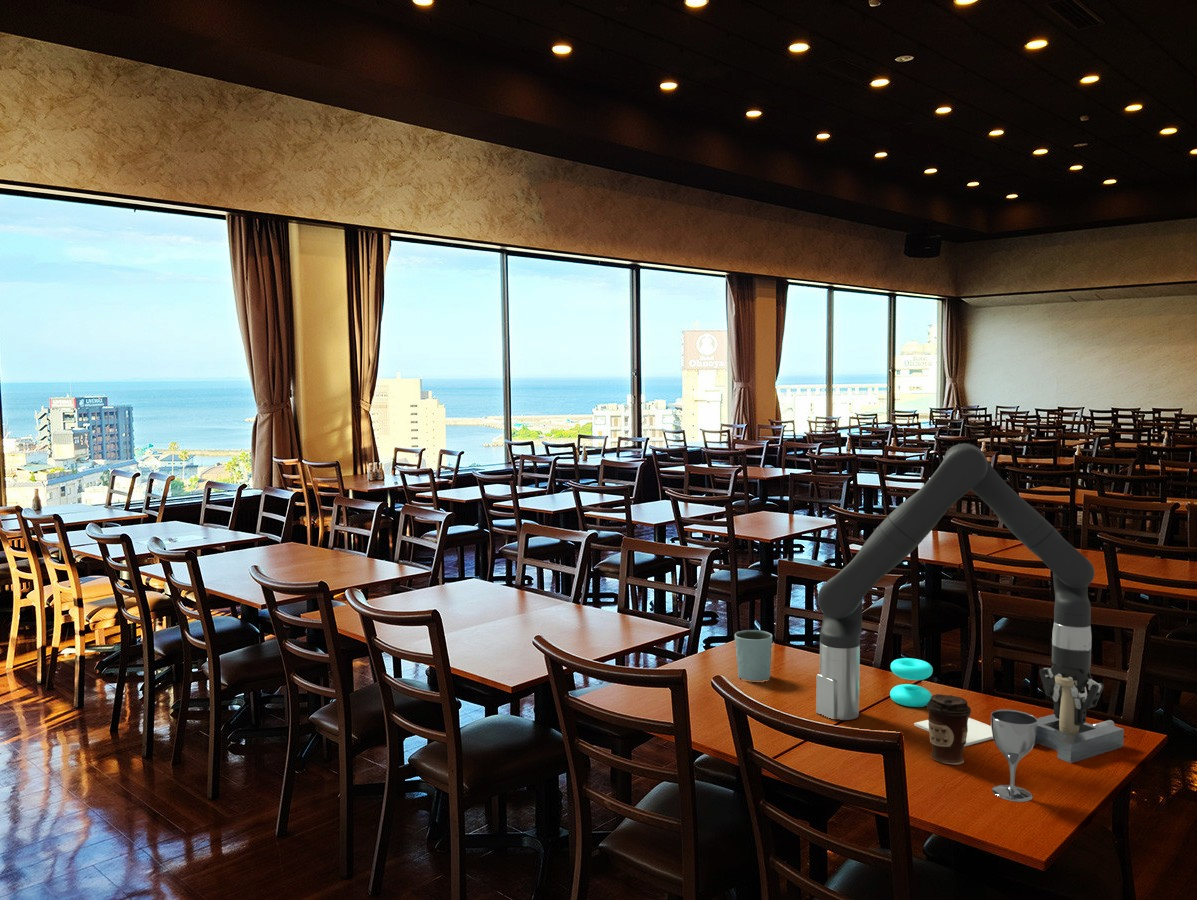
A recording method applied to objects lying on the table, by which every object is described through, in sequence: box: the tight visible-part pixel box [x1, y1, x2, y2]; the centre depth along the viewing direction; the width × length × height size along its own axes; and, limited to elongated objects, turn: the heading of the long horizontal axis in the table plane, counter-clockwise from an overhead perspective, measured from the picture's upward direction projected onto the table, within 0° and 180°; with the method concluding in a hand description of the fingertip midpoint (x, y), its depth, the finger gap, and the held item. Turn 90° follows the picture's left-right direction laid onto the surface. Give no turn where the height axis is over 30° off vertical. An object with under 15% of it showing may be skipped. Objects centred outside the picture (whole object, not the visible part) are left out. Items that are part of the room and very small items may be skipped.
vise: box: [1034, 713, 1125, 764], centre depth 193 cm, size 24×13×4 cm, turn 118°
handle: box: [1054, 675, 1080, 735], centre depth 191 cm, size 5×6×15 cm
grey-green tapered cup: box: [734, 629, 773, 681], centre depth 238 cm, size 10×10×12 cm
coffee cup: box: [926, 693, 972, 766], centre depth 183 cm, size 9×8×13 cm
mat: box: [913, 717, 993, 747], centre depth 200 cm, size 14×14×1 cm
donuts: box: [889, 657, 934, 708], centre depth 219 cm, size 10×10×10 cm
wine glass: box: [990, 708, 1037, 803], centre depth 167 cm, size 8×8×15 cm
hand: (1069, 721), depth 191 cm, fingers closed on handle, 4 cm apart
